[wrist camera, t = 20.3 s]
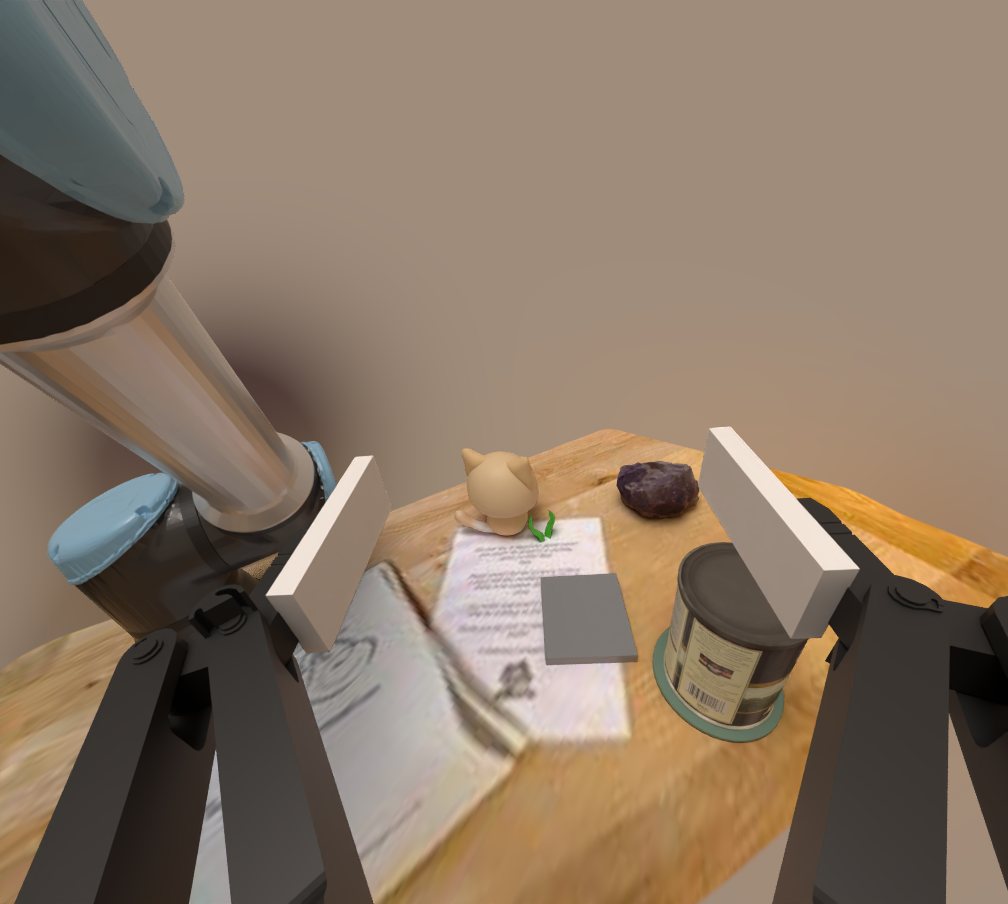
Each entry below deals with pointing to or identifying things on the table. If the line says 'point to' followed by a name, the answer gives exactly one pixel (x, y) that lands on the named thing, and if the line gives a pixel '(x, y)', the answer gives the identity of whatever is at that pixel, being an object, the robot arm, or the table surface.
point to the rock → (658, 488)
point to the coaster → (696, 721)
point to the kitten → (501, 493)
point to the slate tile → (585, 620)
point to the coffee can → (726, 641)
